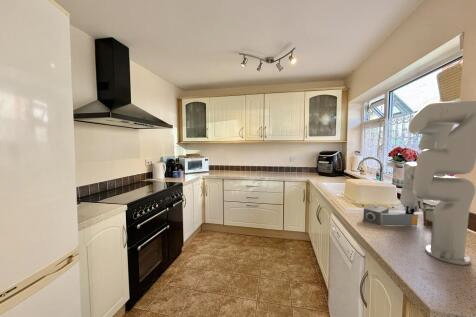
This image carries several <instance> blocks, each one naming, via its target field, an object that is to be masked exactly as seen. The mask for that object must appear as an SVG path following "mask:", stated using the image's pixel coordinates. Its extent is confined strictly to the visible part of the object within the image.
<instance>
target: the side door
mask: <svg viewBox="0 0 476 317" xmlns="http://www.w3.org/2000/svg"><path fill="white" fill-rule="evenodd" d="M418 221H419V214H417V213H416V214H415V213H414V214H405V213H388V214H383V213H381V219H380V225H379V226H381V227H382V226H401V227H402V226H403V227H404V226H405V227H406V226H408V227H409V226H411V227H412V226H415V227H416V226H418Z"/></svg>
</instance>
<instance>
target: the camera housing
mask: <svg viewBox="0 0 476 317" xmlns="http://www.w3.org/2000/svg"><path fill="white" fill-rule="evenodd" d="M389 209H390V208H389V207H385V206H380V205H376V204H371V205H369V206H367V207H365V208H363V215H362V216H363V220H362V221H363V222H367V223H370V224H373V225H377V226H381V225H380V219H381V213H383V214H389Z"/></svg>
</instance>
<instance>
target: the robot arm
mask: <svg viewBox="0 0 476 317" xmlns="http://www.w3.org/2000/svg"><path fill="white" fill-rule="evenodd" d="M455 125H457V126H455ZM454 126H455V127H454ZM408 130H409V131H408V132H409V133H410V134H411V135H422V136H421V138H420V141H419V144H418V148H419V149H420V150H421V152H420V153H419V155H418V156H417V158H416V162H406V163H405V164H404V168H403V169H404V171H403V180H402V181H403V183H402V188H401V193H400V196H399V197H400V199H399V201H400V204H401V206H402V207H403V208H404V211H405V213H404V214H415V213H416V212H420V210H421V209H422V208H423V205H424V200H426V201H437V202H438V203H437V204H436V207H435V208H434V212H433V223H432V226H431V235H430V236H431V239H430V244H428V245H426V246H425V247H424V250H425V253H427V254H428V255H429V256H431V257H432V258H435V259H437V260H440V261H443V262H445V263H449V264H454V265H461V266H462V265H463V266H465V265H466V266H467V265H469V264H471V258H470V257H469V256H468V255H466V244H467V233H468V225H469V215H470V209H471V206H472V202H473V200H474V198H475V195H476V185H475V184H474V183H473V181H471V180H470V179H468V178H465V177H461V176H460V177H459V176H446V175H468V174H470V173H471V172H473V171H474V168H475V164H476V101H475V100H456V101H439V102H430V103H426V104H425V105H424V106H423V107H422V108H420V109H419V110H418V111H417V112H416V113H415V114H414V116H412V118H411V119H410V120H409V125H408Z"/></svg>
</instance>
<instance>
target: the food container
mask: <svg viewBox="0 0 476 317" xmlns="http://www.w3.org/2000/svg"><path fill="white" fill-rule="evenodd" d="M436 205H437V204H436ZM436 205H435V204H423V208H422V209H420V210H421V211H422V216H423V217H422V218H423V225H424V226H425V227H432V223H433V212H434V208H435V207H436Z"/></svg>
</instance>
